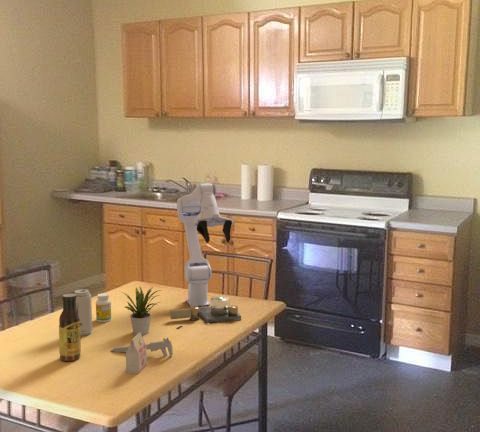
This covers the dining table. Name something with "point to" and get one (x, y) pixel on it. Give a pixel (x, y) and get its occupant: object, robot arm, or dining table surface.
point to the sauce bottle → (69, 330)
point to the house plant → (141, 311)
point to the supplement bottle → (103, 308)
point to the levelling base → (216, 317)
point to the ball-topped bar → (186, 313)
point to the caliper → (152, 347)
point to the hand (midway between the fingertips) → (218, 241)
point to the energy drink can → (84, 310)
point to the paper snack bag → (136, 355)
